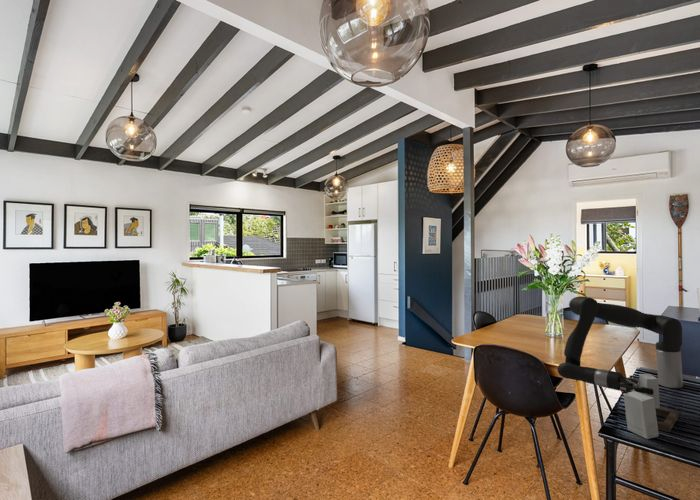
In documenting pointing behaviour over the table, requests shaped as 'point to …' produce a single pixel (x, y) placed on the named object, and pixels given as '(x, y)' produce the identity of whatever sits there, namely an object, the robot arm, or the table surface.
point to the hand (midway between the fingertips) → (655, 389)
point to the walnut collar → (669, 421)
